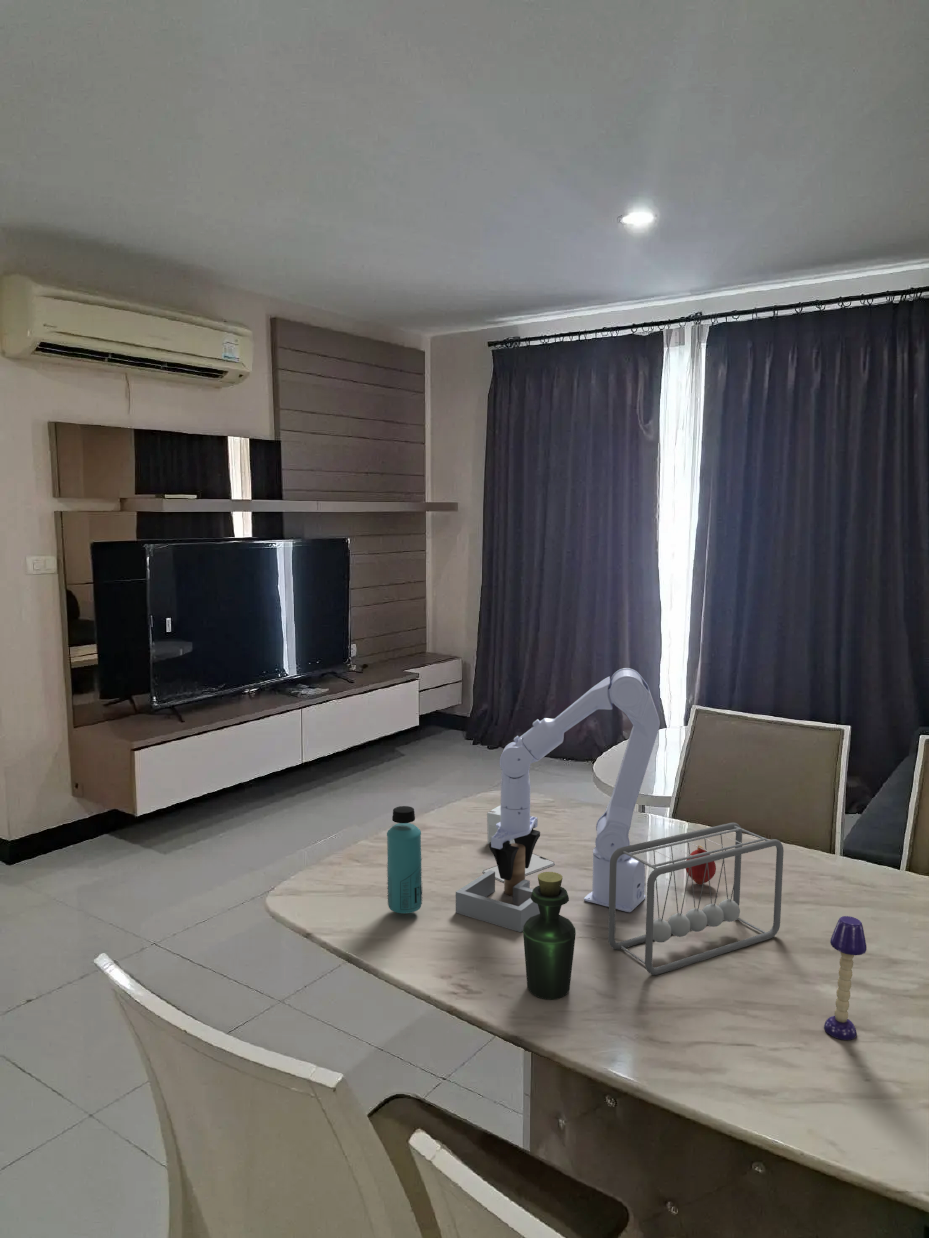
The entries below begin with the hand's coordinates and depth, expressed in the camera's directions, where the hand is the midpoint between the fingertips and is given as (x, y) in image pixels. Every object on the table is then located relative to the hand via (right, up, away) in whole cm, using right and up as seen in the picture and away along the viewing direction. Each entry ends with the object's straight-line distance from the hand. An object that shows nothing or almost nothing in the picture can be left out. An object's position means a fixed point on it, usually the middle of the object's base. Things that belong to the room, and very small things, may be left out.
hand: (514, 872), depth 167 cm
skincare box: (-1, -1, +27) cm, 27 cm away
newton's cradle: (+30, -6, -20) cm, 36 cm away
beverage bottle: (-21, -5, -9) cm, 23 cm away
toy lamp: (+44, -9, -46) cm, 64 cm away
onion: (+37, -4, +4) cm, 38 cm away
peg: (0, -4, 0) cm, 4 cm away
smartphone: (+2, -3, +12) cm, 12 cm away
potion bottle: (+3, -8, -34) cm, 35 cm away
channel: (-2, -5, -8) cm, 9 cm away
